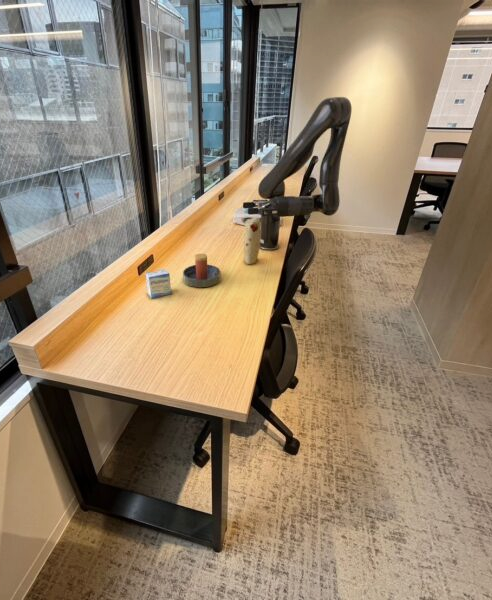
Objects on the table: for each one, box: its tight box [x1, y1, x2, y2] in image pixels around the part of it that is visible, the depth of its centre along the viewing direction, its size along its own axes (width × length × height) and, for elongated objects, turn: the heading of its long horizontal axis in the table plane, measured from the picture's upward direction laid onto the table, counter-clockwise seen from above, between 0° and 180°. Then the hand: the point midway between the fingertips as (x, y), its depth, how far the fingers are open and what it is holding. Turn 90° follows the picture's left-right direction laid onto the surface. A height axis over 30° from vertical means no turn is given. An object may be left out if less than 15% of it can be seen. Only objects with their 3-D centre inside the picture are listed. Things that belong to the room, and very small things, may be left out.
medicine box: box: [144, 269, 172, 299], centre depth 121 cm, size 8×4×9 cm, turn 117°
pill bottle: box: [194, 253, 208, 280], centre depth 130 cm, size 5×5×10 cm
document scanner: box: [232, 206, 283, 226], centre depth 200 cm, size 21×28×6 cm
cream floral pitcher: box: [243, 217, 261, 265], centre depth 144 cm, size 10×7×20 cm
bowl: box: [182, 264, 221, 288], centre depth 132 cm, size 15×15×4 cm
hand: (245, 208), depth 124 cm, fingers open, 8 cm apart
